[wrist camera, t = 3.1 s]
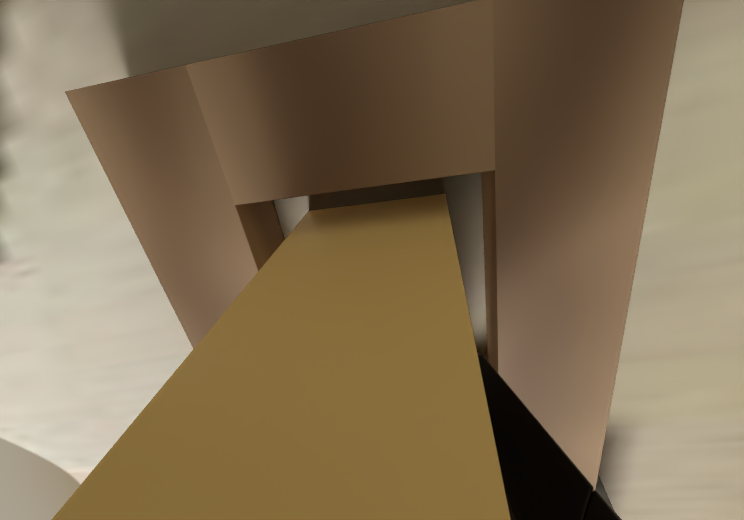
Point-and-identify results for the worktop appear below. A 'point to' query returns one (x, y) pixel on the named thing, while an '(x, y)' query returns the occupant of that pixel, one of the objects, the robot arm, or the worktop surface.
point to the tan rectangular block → (322, 390)
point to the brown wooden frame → (420, 168)
